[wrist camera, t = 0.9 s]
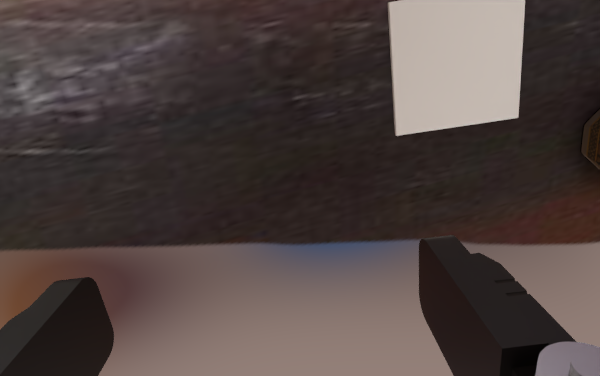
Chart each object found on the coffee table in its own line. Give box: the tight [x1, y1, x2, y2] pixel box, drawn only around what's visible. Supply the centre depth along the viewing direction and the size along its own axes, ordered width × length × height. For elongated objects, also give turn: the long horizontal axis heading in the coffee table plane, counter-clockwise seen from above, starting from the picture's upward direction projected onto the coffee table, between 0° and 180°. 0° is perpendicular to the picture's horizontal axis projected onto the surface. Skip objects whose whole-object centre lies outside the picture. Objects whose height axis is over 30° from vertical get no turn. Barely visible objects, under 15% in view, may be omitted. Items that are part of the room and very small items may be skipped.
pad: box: [388, 0, 525, 136], centre depth 33 cm, size 11×11×1 cm
